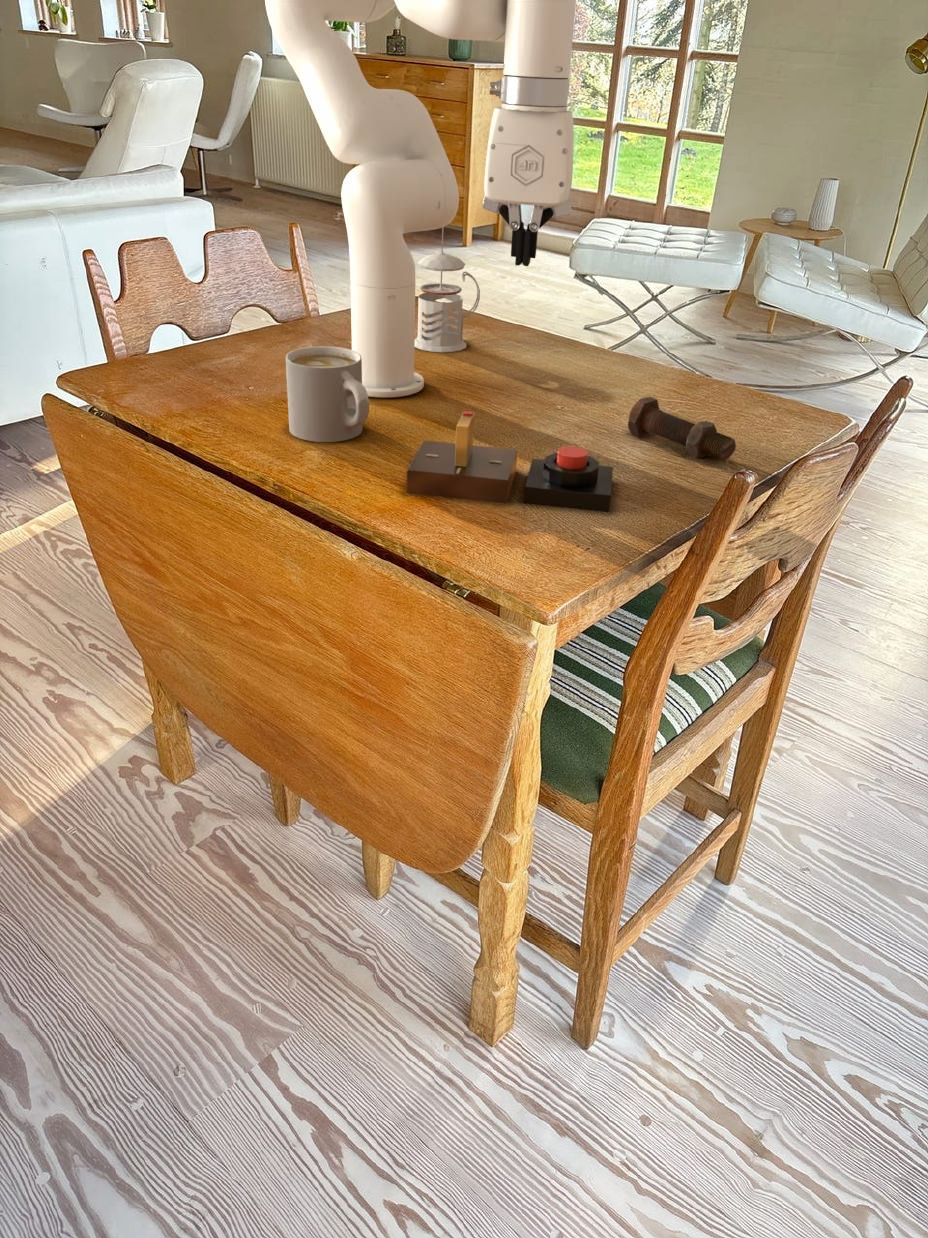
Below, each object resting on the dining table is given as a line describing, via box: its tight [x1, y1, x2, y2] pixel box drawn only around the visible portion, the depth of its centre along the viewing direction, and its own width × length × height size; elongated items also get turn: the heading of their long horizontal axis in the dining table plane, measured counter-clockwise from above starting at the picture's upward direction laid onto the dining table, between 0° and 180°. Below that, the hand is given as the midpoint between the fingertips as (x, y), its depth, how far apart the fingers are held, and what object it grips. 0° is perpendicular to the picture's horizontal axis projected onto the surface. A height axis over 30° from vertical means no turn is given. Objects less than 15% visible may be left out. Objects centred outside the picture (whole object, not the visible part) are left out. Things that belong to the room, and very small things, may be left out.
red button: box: [556, 445, 589, 469], centre depth 114 cm, size 4×4×2 cm
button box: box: [523, 452, 614, 513], centre depth 115 cm, size 10×9×4 cm
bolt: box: [627, 396, 737, 462], centre depth 129 cm, size 6×5×15 cm
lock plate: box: [406, 440, 518, 504], centre depth 117 cm, size 12×10×3 cm
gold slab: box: [455, 410, 475, 467], centre depth 114 cm, size 5×1×5 cm, turn 171°
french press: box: [415, 226, 481, 353], centre depth 163 cm, size 10×12×25 cm
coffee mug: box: [285, 345, 370, 443], centre depth 127 cm, size 13×10×10 cm
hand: (522, 263), depth 119 cm, fingers closed
